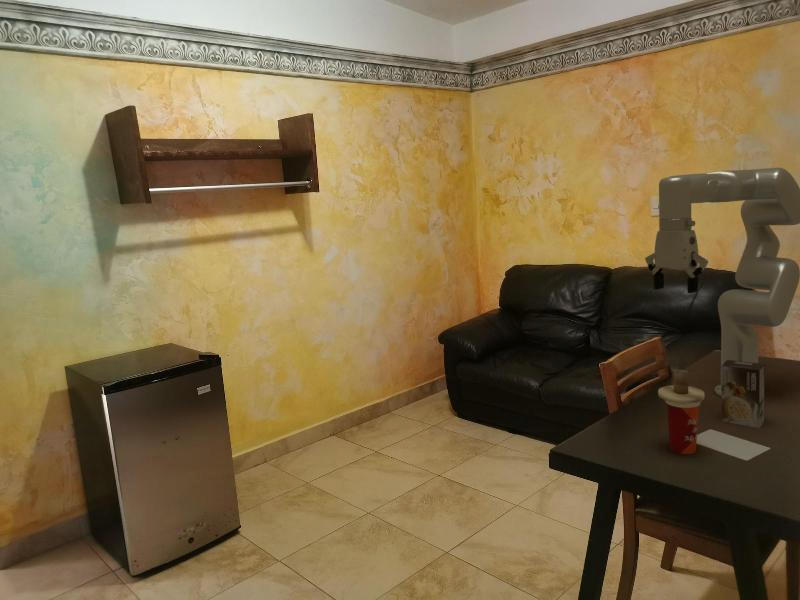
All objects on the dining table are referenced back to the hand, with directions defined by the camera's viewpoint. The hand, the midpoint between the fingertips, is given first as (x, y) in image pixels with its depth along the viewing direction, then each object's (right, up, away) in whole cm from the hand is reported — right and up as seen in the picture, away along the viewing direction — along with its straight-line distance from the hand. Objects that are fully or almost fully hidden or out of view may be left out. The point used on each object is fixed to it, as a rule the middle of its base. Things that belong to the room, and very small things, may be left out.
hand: (675, 290), depth 153 cm
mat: (+8, -38, -11) cm, 40 cm away
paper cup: (-4, -40, -11) cm, 41 cm away
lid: (-5, -26, -14) cm, 29 cm away
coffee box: (+19, -35, +1) cm, 40 cm away
